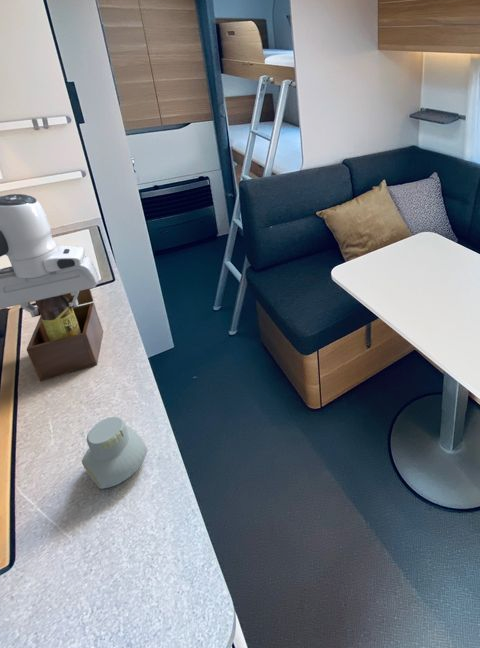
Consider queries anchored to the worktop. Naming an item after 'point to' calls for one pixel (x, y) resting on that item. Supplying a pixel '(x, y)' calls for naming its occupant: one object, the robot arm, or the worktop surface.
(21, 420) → the worktop surface
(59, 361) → the bin
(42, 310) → the sauce bottle
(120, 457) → the air freshener
